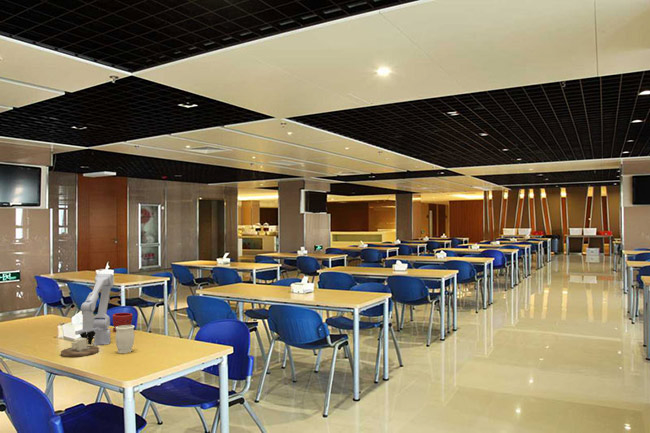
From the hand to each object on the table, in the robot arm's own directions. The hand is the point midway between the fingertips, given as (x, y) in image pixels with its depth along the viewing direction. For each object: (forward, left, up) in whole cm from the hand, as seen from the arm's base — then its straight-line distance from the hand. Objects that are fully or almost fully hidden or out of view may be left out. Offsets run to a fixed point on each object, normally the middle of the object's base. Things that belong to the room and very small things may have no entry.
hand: (87, 344), depth 294 cm
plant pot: (-14, -53, -3) cm, 55 cm away
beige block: (+4, +8, -1) cm, 9 cm away
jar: (-22, +12, -3) cm, 25 cm away
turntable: (+3, +7, -3) cm, 8 cm away
